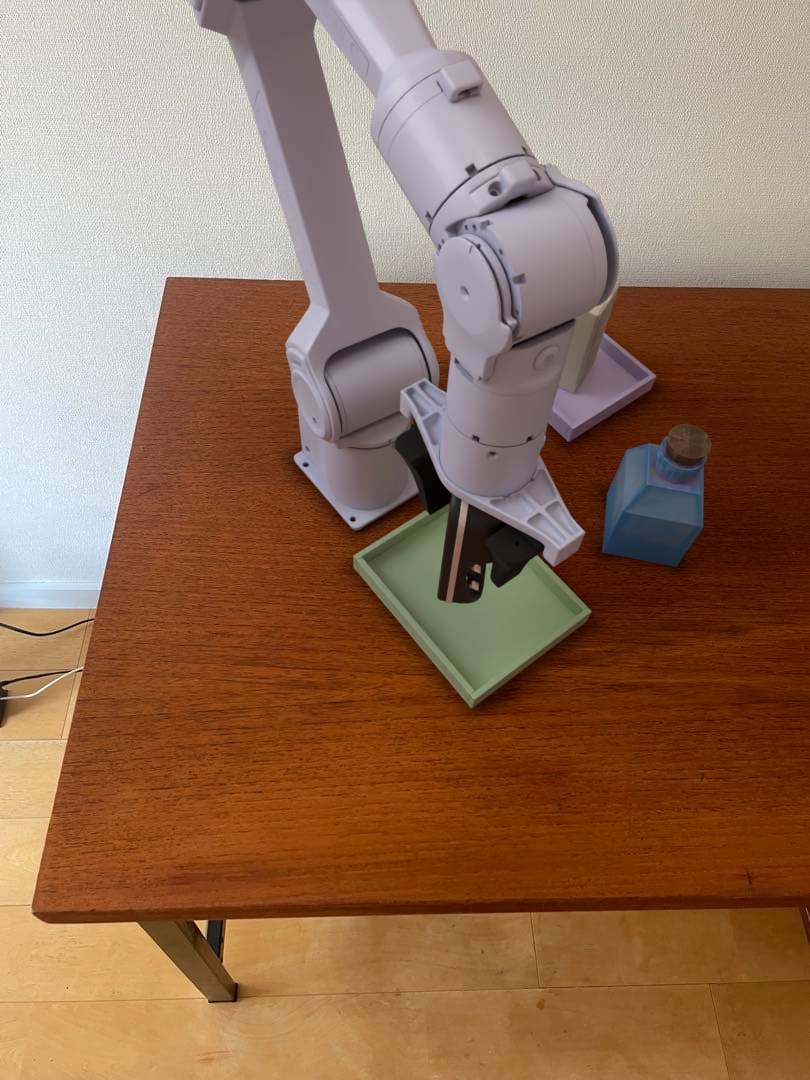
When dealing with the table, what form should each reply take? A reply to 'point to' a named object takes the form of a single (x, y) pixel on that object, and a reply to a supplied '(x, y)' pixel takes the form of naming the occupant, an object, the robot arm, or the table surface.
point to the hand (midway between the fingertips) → (471, 540)
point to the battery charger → (465, 552)
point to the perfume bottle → (658, 498)
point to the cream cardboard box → (586, 343)
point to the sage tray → (468, 608)
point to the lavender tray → (600, 391)
